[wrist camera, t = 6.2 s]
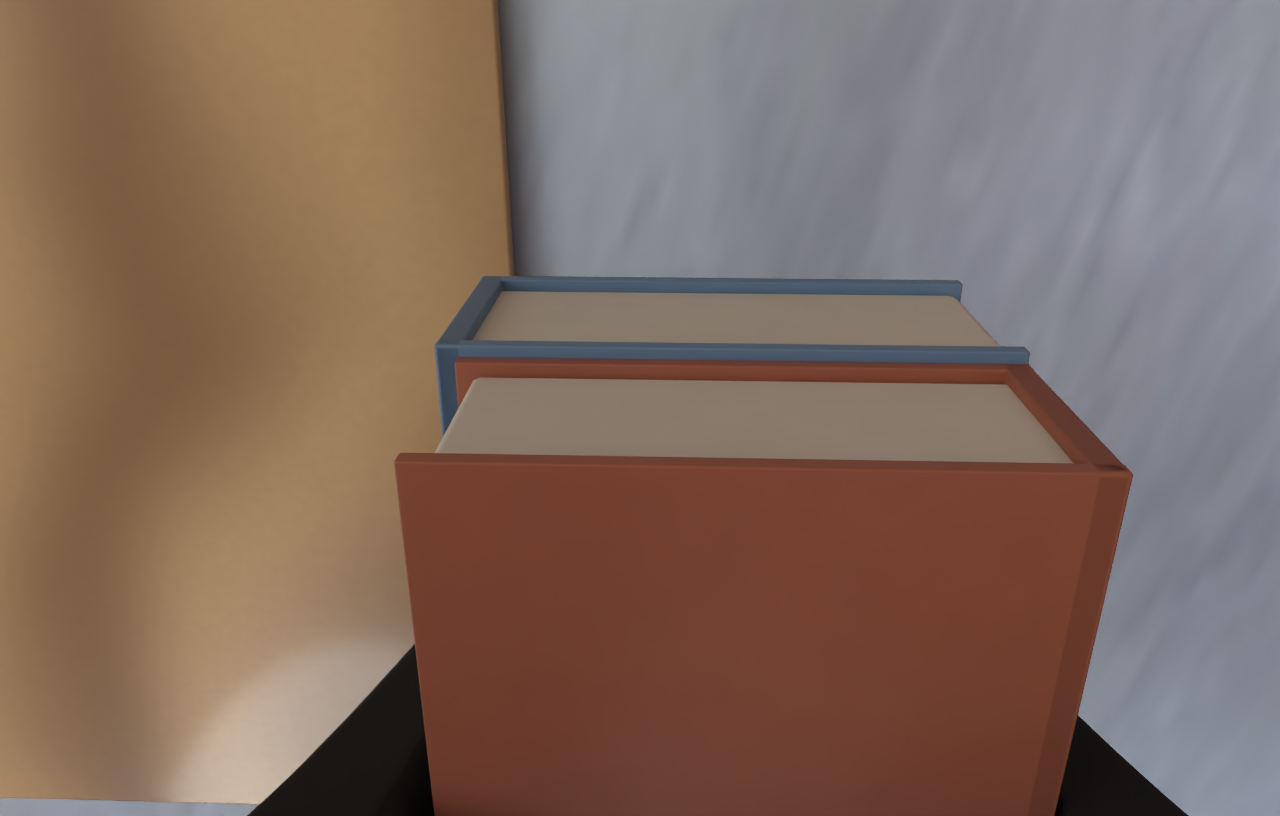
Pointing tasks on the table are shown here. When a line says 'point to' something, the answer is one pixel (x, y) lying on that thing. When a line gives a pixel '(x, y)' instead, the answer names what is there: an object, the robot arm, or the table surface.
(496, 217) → the cork mat
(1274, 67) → the table surface
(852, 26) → the table surface
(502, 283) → the book stack
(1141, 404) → the table surface
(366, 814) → the robot arm
